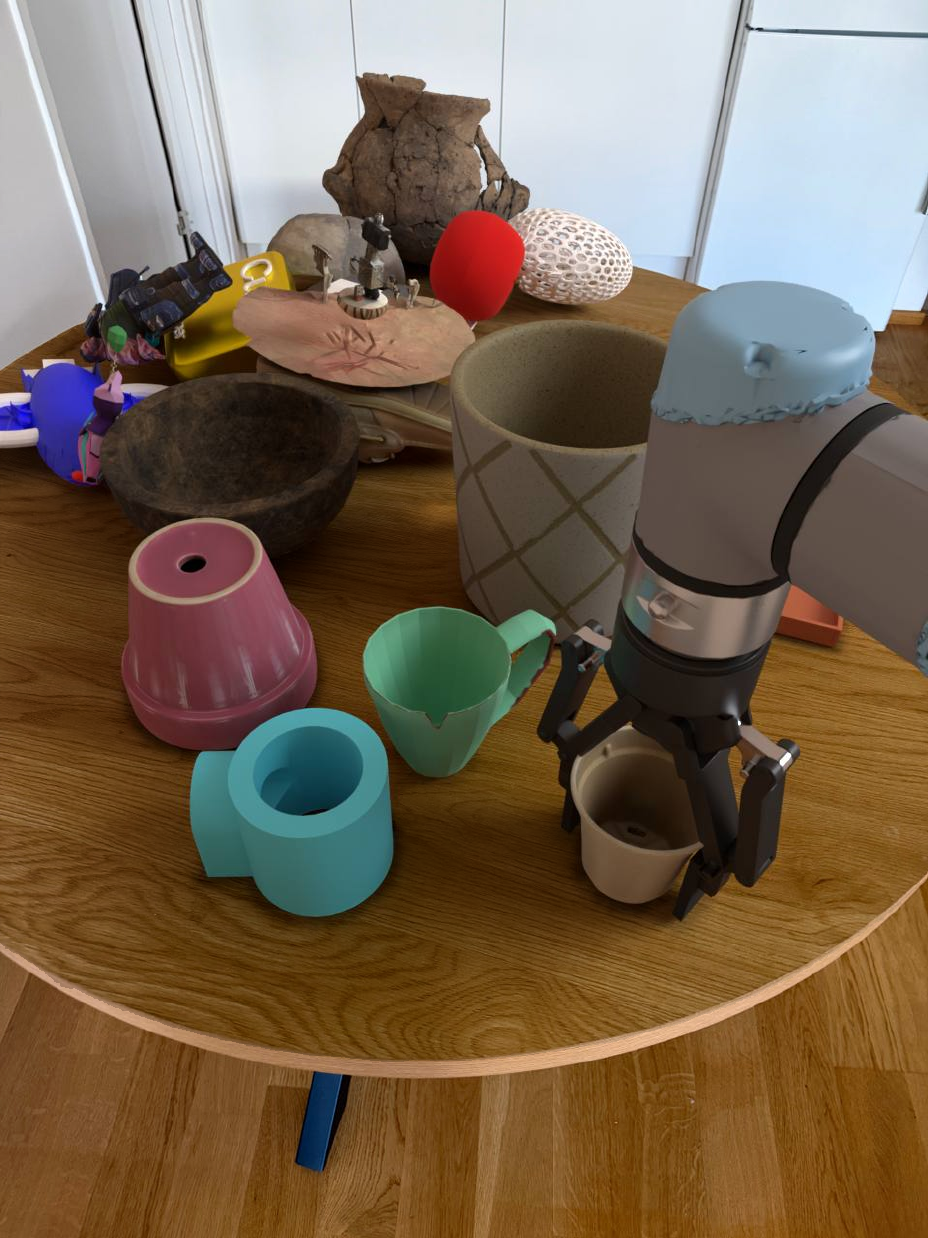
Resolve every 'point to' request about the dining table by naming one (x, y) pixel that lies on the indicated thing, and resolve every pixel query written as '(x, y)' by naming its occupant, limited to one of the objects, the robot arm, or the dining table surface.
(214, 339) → the element tile
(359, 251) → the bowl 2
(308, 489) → the bowl
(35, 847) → the dining table surface
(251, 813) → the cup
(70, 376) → the toy airplane
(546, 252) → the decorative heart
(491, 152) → the clay pot
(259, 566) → the flower pot
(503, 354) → the planter
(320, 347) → the sculpture
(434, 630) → the mug
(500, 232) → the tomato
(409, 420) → the boat shoe
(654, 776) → the flower pot
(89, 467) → the toy
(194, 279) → the action figure
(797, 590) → the pot tray
